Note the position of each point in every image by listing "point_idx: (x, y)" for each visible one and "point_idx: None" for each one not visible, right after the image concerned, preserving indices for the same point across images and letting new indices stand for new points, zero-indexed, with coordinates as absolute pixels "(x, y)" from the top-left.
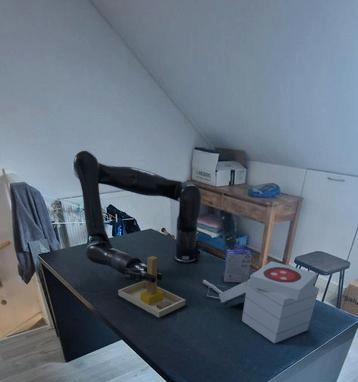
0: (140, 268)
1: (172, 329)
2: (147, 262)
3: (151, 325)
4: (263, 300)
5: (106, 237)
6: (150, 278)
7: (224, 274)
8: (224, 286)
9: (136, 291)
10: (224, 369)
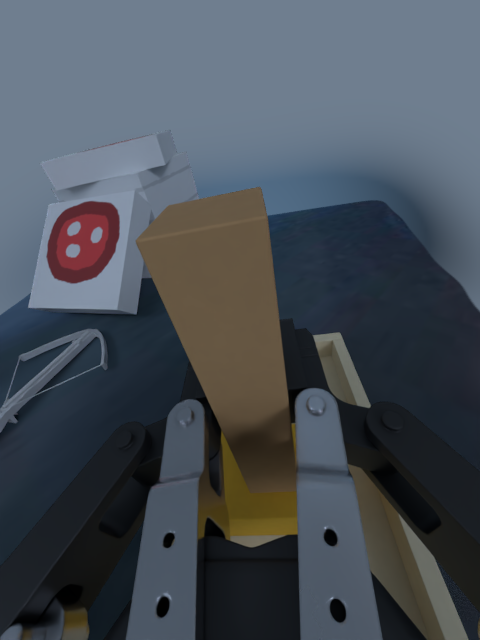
0: (320, 546)
1: (328, 305)
2: (276, 298)
3: (381, 341)
4: (174, 187)
5: None
6: (313, 339)
7: None
8: (14, 373)
9: None
10: (316, 225)
